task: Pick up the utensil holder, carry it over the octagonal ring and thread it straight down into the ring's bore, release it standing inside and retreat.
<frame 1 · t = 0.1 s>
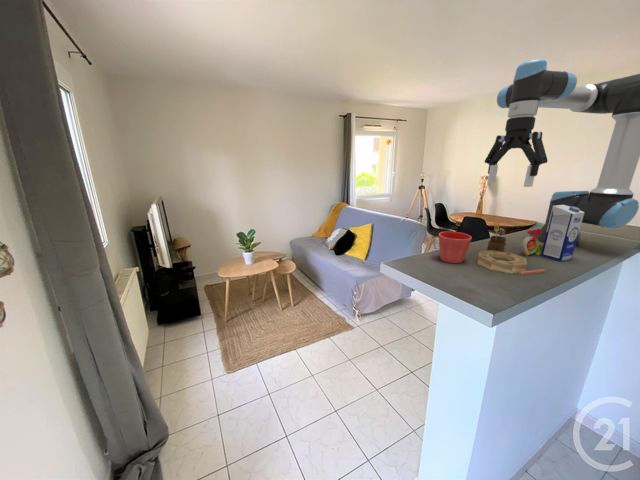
hand: (508, 185, 91), 28 cm above the countertop, fingers open, 13 cm apart
bird rattle: (530, 255, 105), on the countertop, touching milk carton
milk carton: (555, 258, 102), on the countertop, touching bird rattle
pink stick: (532, 273, 88), on the countertop
utensil holder: (494, 254, 106), on the countertop
flower pot: (451, 260, 101), on the countertop
octagonal ring: (500, 265, 95), on the countertop
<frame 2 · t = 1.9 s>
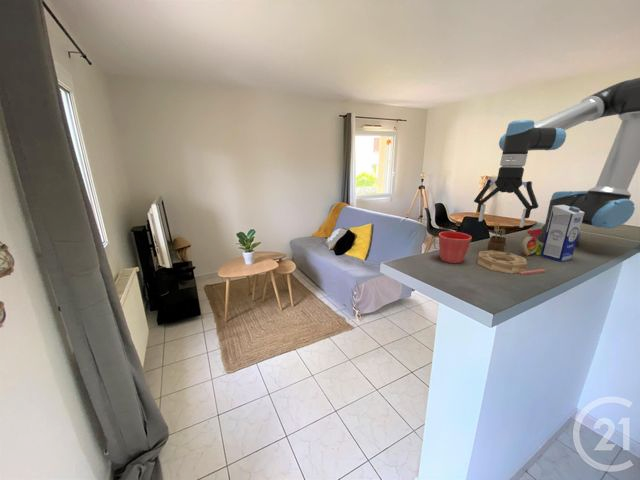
hand: (499, 223, 102), 12 cm above the countertop, fingers open, 13 cm apart
nothing on the countertop moved.
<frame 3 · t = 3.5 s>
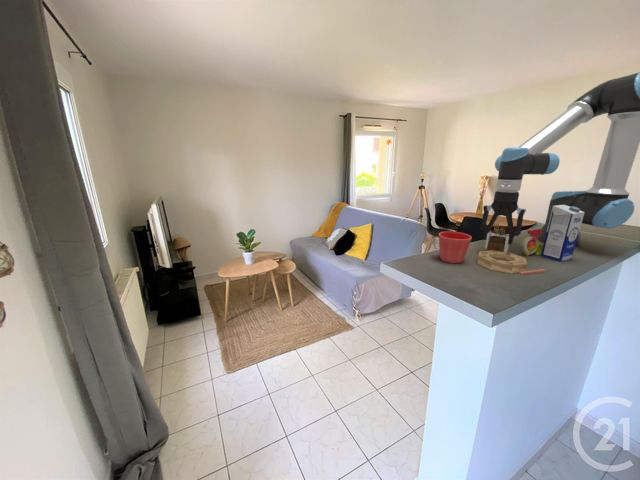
hand: (495, 249, 105), 2 cm above the countertop, fingers closed on utensil holder, 6 cm apart
utensil holder: (494, 254, 106), on the countertop, touching gripper
everything else where it was.
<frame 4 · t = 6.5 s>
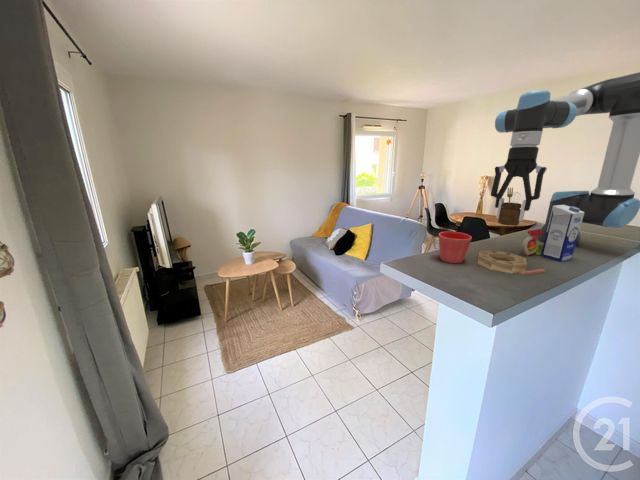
hand: (509, 218, 90), 17 cm above the countertop, fingers closed on utensil holder, 6 cm apart
utensil holder: (507, 224, 91), point 15 cm above the countertop, touching gripper
everything else where it was.
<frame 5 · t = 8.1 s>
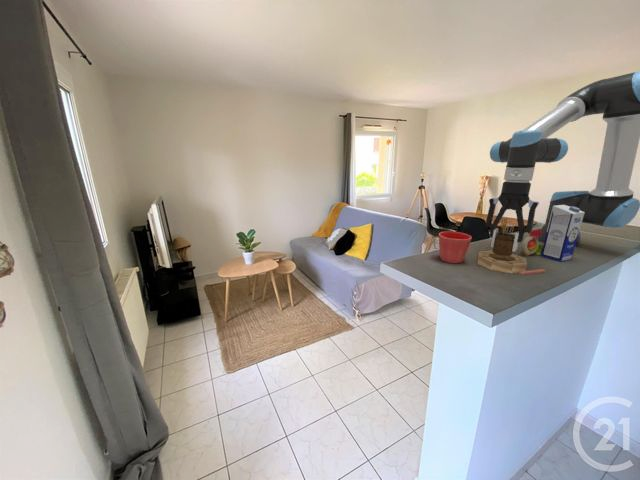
hand: (503, 248, 93), 6 cm above the countertop, fingers closed on utensil holder, 6 cm apart
utensil holder: (501, 253, 94), point 4 cm above the countertop, touching gripper
everything else where it was.
when the fingers open (4 cm above the countertop, at t = 9.4 s): utensil holder drops 2 cm, resting in octagonal ring.
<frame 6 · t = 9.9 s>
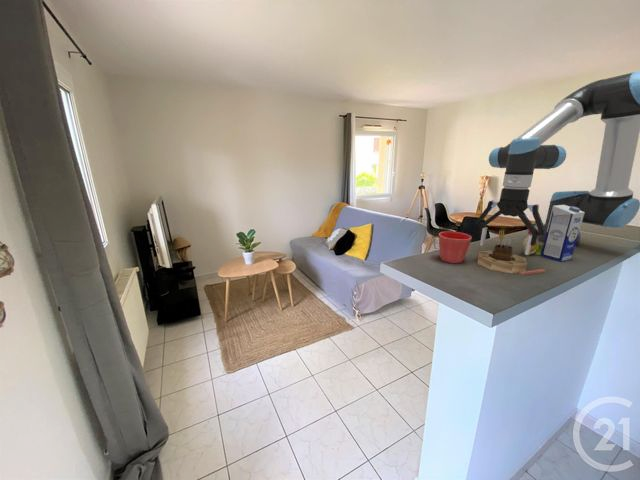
hand: (503, 249, 93), 6 cm above the countertop, fingers open, 13 cm apart
utensil holder: (500, 265, 95), resting in octagonal ring
everything else where it was.
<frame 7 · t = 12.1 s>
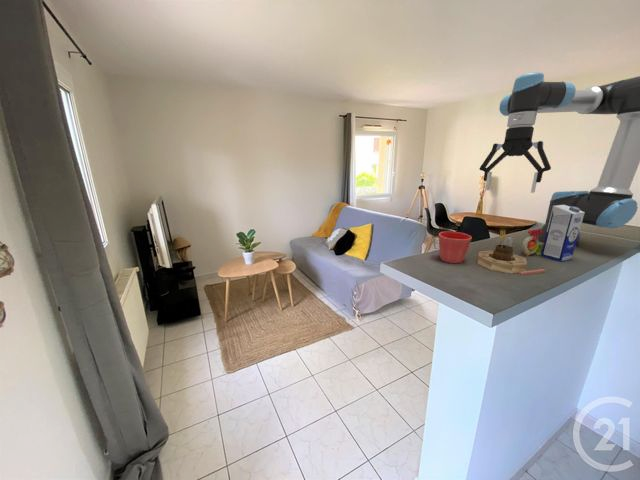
hand: (508, 191, 95), 25 cm above the countertop, fingers open, 13 cm apart
nothing on the countertop moved.
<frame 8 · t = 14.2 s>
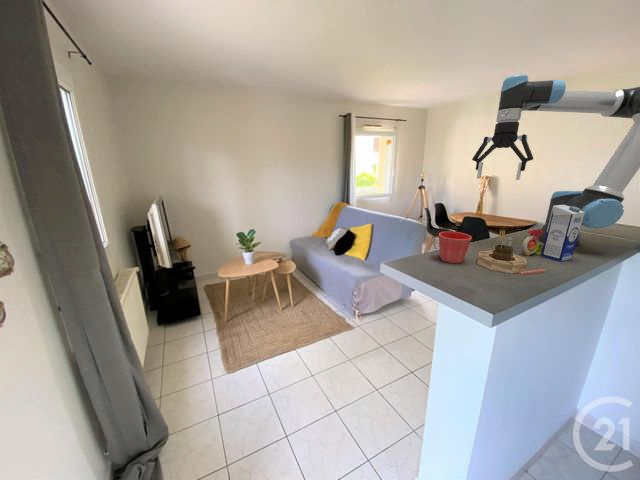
hand: (497, 179, 107), 29 cm above the countertop, fingers open, 13 cm apart
nothing on the countertop moved.
at the end: utensil holder 0.0 cm off-centre on the octagonal ring, point 0.0 cm above the octagonal ring's base; utensil holder tilted 0°; the gripper is holding nothing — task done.
